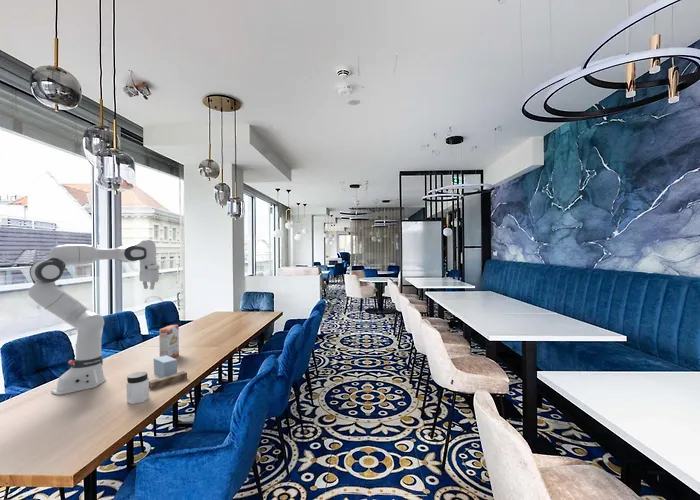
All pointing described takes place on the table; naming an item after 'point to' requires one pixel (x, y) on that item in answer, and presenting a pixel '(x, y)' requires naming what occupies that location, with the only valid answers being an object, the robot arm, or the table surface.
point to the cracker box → (169, 341)
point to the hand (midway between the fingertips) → (148, 289)
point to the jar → (137, 387)
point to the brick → (165, 366)
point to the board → (167, 380)
